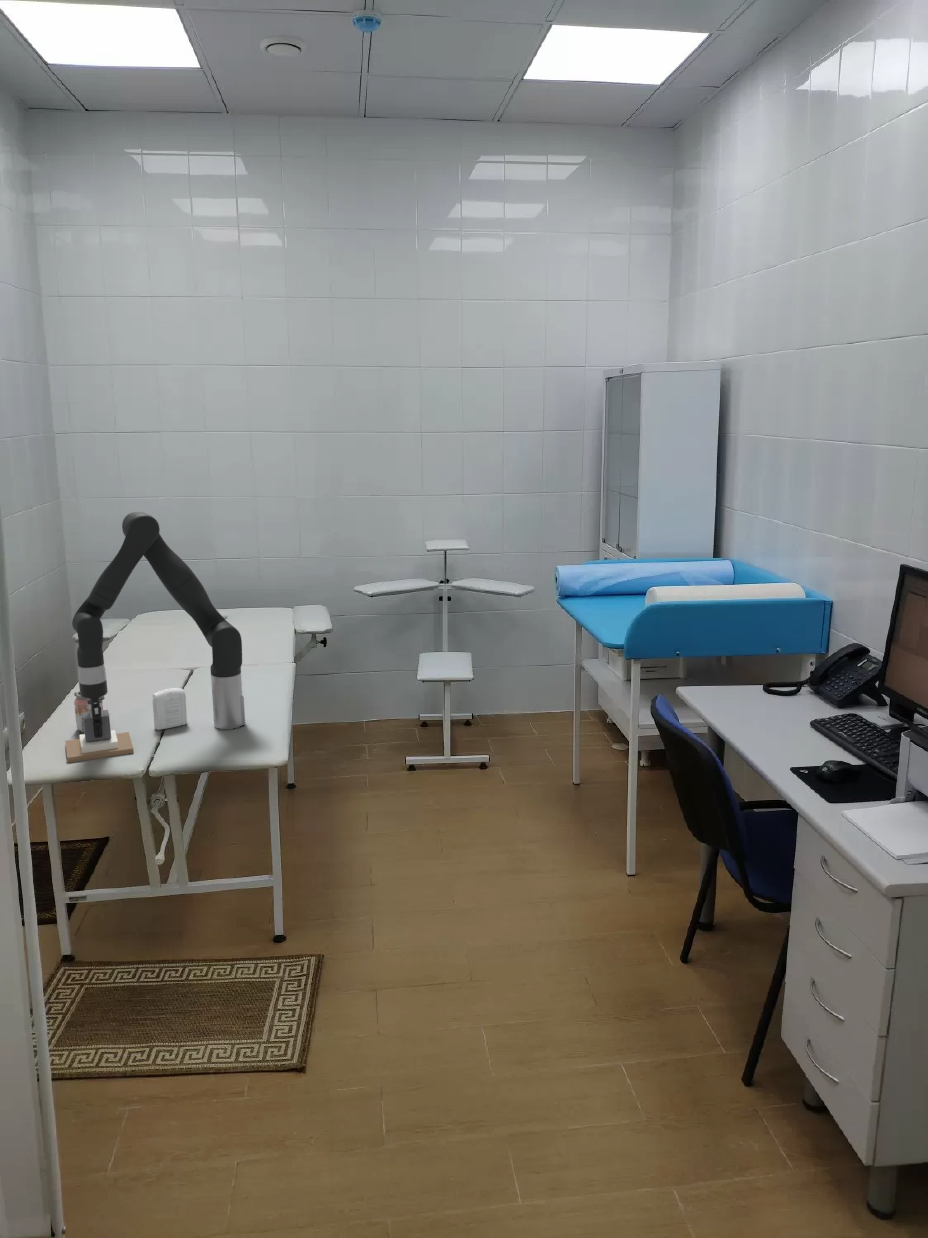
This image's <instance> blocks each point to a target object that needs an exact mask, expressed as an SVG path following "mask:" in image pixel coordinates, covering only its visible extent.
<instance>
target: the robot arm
mask: <svg viewBox="0 0 928 1238" xmlns="http://www.w3.org/2000/svg"><path fill="white" fill-rule="evenodd" d="M121 530H122V533H123V536H124V537H125V538H123V542H122V545H121V547H120V549H119V550H118V552H117V554H116V555H115V557H114V558H113V559H112V561H110V562H109V564H108V565H107V566H106V568H104V570H103V572H102V573H101V574H100V576H99V577H98V579H97V581H96V582H95V584H94V585H93V588H92V589H91V591H90V593H89V595H88V597H86V599H85V600H84V601H83V602H82V604H81V605H80V606H79V608H78V609H76V610H77V611H76V612H75V613H74V615H73V617H72V621H71V622H72V623H71V624H72V628H73V629H74V631H75V633H77V640H78V647H77V649H76V657H77V658H76V659H77V668H78V669H77V678H78V685H79V686H78V687H79V691H80V695H81V696H82V697H83V698H89V699H90V700H87V702H88V708H89V713H90V718H92V720H93V723H92V725H93V726H94V736H95V738H100V737H102V736H103V734H102V724H103V722H102V716H103V712H102V707H103V708H104V705H103V700H102V698H101V699H99V697H101V696H104V697H105V696H106V695H107V694H108V691H109V690H108V683H107V672H106V666H105V660H104V658H105V657H104V650H103V645H104V644H103V643H104V627H103V626H104V625H103V622H102V621H101V618H102V617H103V616H104V614H105V612H106V611H108V610H110V609H111V608H113V606H114V604H115V602H116V600H118V597H119V596H120V594H121V593H122V590H123V588H124V586H125V584H126V583H127V581H128V579H129V578H130V576H131V574H132V573H133V570H134V569H135V568H136V567H137V565H138V563H139V562H140V561H141V559H142V558H143V557H144V558H145V559H146V560H147V562H148V563H149V565H150V566H151V568H152V570H153V571H154V573H155V574H156V576H157V577H158V579H159V580H160V582H161V584H162V585H163V586H164V587H165V589H166V590H167V592H168V593H169V594H170V596H171V597H172V598H173V599H174V601H175V602H176V603H177V604H178V605H179V606H180V607H181V608H182V610H183V611H184V612H186V613H187V615H188V616H190V617H191V618H192V620H193V621H194V622H195V624H196V625H197V627H198V628H199V630H200V631H201V633H202V635H203V636H204V638H205V640H206V642H207V644H208V645H209V646H210V648H211V651H212V652H211V655H212V664H211V665H210V667H209V669H210V680H211V683H210V684H211V698H212V699H211V700H212V713H213V715H212V716H213V725H214V727H215V728H216V729H218V728H221V729H220V730H232V729H231V728H235V729H238V728H240V726H241V727H243V726H242V725H244V726H246V712H245V711H246V710H245V697H244V695H243V685H242V684H243V681H242V666H243V665H242V664H243V641H242V634H241V633H240V631H239V630H238V629H237V628H236V627H235V626H234V625H232V624H231V623H230V622H229V621H228V620H226V618H225V617H224V616H222V614H221V613H220V612H219V610H217V609H216V607H215V606H214V605H213V604H212V601H211V600H210V598H209V595H208V593H207V591H206V589H205V587H204V586H203V584H202V582H201V581H200V580H199V578H198V577H197V576H196V573H194V571H193V570H192V569H191V568H190V567H189V566H188V564H187V563H186V562H185V561H184V560H183V559H182V558H181V557H180V556H179V555H178V554H177V553H175V552H174V550H172V548H170V547H169V545H168V544H167V543H166V542H165V540H164V539H163V537H162V535H161V534H160V532H161V531H160V524H159V522H158V521H157V519H156V518H155V517H153V516H152V515H150V514H148V513H146V512H142V511H133V512H129V513H128V514H127V515H125V517H124V518H123V520H122V524H121ZM95 719H100V721H98V722H95Z"/></svg>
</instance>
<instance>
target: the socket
mask: <svg viewBox="0 0 928 1238" xmlns="http://www.w3.org/2000/svg"><path fill="white" fill-rule="evenodd" d="M130 735H131V734H130V732H129V731H126V732H119V733H116V730H115V729H111V738H110V739H106V740H95V741H93V742H92V741H88V742H86V739H85V733H83V734H79V738H75V739H69V740H65V750H66V759H67V763H68V764H69V763H75V762H81V761H88V760H97V759H102V758H103V759H104V758H110V757H117V756H123V755H129V754H128V753H131V754H134V747H133V743H132V740H131V736H130Z"/></svg>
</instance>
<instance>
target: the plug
mask: <svg viewBox="0 0 928 1238" xmlns="http://www.w3.org/2000/svg"><path fill="white" fill-rule="evenodd" d="M102 712H103V716H102V722H103V724H102V734H103V736H102V737H100V738H95V736H94V726H93V725H92V723H93V720H92V718H90V713H89V712H87V713H83V722H84V732H85V733H84V732H83V733H84V734H85V739H86V742H88V741H92V742H93V741H95V740H106V739H110V738H111V730H112V729H111V721H110V719H111V718H110V713H109V709H103V710H102ZM98 721H100V719H95V722H98Z"/></svg>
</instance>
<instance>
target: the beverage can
mask: <svg viewBox="0 0 928 1238" xmlns="http://www.w3.org/2000/svg"><path fill="white" fill-rule="evenodd" d="M73 695H74V697H75V699H74V702H73V703H74V713H75V722H76V729H77V730H78V732H80V733H83V734H85V732H84V722H83V713H87V712H89V708H88V702H87V700H90V699H89V698H83V697H82V696H81V695H80V690H79V691H75V692H74V693H73ZM101 698H102V701H104V700H105V695H104V696H101V697H99V699H101ZM102 710H104V706H103V707H102Z"/></svg>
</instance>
